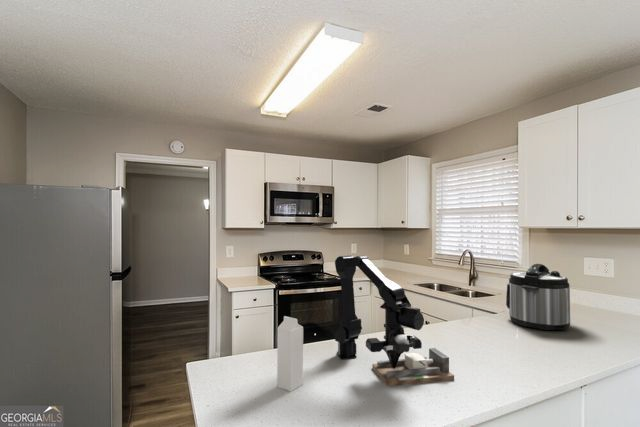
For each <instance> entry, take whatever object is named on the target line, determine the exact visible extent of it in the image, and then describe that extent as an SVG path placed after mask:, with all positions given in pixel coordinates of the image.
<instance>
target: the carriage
mask: <svg viewBox="0 0 640 427" xmlns="http://www.w3.org/2000/svg"><path fill="white" fill-rule="evenodd" d="M423 357H424V356H422V355H421V354H420V353H419V352H413V353H404V359H405V366H406V367H407V368H408V369H419V368H427V364H433V359H429V358H427V359H425V358H423Z"/></svg>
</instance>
